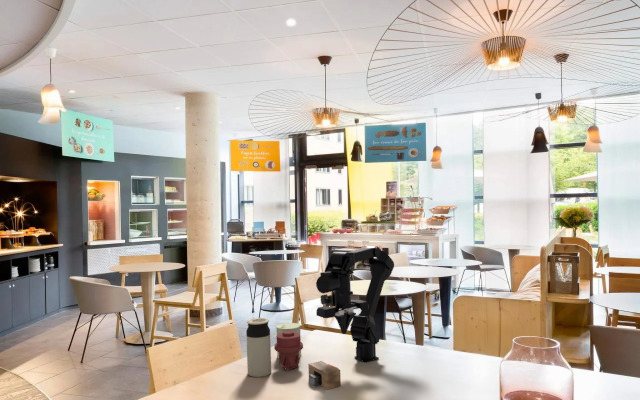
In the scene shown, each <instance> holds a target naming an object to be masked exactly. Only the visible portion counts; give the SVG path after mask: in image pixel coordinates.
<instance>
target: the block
mask: <svg viewBox="0 0 640 400" xmlns="http://www.w3.org/2000/svg"><path fill="white" fill-rule="evenodd" d="M329 364H330V363H326V362H325V361H324V360H323V361H322V360H319V361H314V362H310V363H308V366H307V367H308V376H309V375H311V374H315V373H320V374H322V385H321V387H322V388H324V389H325V390H331V389H335V388H338V387H342V383H341V381H342V379H341V378H342V377H341V369H337V368H338V367H337V368H335V367H336V366H335V367H333V366H334V365H333V366H331V365H332V364H330V365H329Z"/></svg>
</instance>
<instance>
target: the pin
mask: <svg viewBox="0 0 640 400" xmlns="http://www.w3.org/2000/svg"><path fill="white" fill-rule="evenodd" d="M328 364H329V365H331V366H333V367H335V368H337V369H339V367H337V366H335V365H332V364H330V363H328ZM308 381H309V386H312V387H314V388H316V387H319V386H320V387H322V374H320V373H315V374H311V375H309V374H308Z"/></svg>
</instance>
